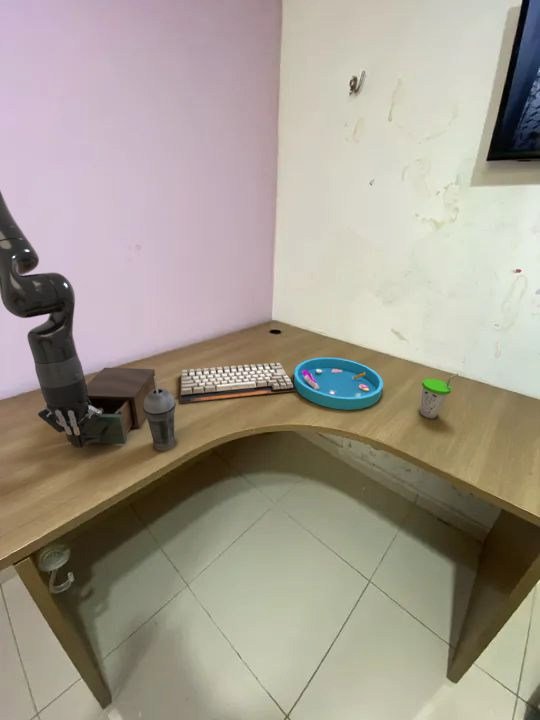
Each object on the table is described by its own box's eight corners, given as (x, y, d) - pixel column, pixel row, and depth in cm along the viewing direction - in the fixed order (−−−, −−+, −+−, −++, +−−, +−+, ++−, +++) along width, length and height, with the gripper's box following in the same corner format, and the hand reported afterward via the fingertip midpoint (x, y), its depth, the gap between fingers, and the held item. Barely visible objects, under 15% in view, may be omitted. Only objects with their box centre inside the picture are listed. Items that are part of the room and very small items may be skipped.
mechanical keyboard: (180, 404, 94) (179, 394, 92) (180, 375, 111) (179, 367, 109) (297, 392, 103) (298, 383, 102) (280, 367, 120) (281, 359, 119)
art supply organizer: (283, 369, 118) (284, 355, 116) (354, 364, 125) (357, 350, 123) (311, 414, 92) (313, 397, 89) (399, 404, 99) (403, 388, 96)
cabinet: (139, 428, 83) (133, 397, 79) (83, 426, 82) (74, 395, 78) (158, 396, 97) (154, 369, 93) (110, 395, 97) (104, 367, 92)
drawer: (117, 456, 72) (111, 428, 68) (57, 454, 71) (48, 427, 68) (146, 409, 89) (142, 386, 85) (98, 408, 88) (92, 384, 85)
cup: (409, 412, 95) (421, 368, 89) (422, 404, 100) (434, 362, 93) (434, 425, 90) (449, 379, 83) (446, 416, 94) (461, 372, 88)
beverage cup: (180, 434, 81) (174, 365, 73) (178, 453, 75) (170, 380, 66) (151, 436, 80) (141, 367, 72) (146, 455, 74) (134, 382, 65)
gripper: (104, 369, 65) (117, 435, 72) (40, 367, 65) (60, 433, 72) (85, 387, 58) (102, 458, 66) (14, 384, 58) (39, 456, 65)
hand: (80, 445), depth 69 cm, fingers closed
